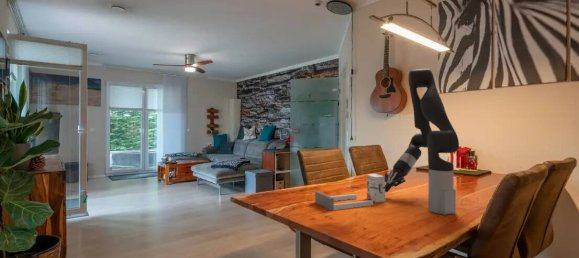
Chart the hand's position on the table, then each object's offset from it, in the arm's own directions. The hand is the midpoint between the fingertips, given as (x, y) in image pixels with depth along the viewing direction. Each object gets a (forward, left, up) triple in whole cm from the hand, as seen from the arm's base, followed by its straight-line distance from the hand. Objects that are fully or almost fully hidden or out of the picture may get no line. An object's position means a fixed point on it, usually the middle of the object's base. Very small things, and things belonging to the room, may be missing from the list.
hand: (384, 191), depth 143 cm
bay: (0, +22, -4) cm, 22 cm away
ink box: (0, +5, -4) cm, 7 cm away
